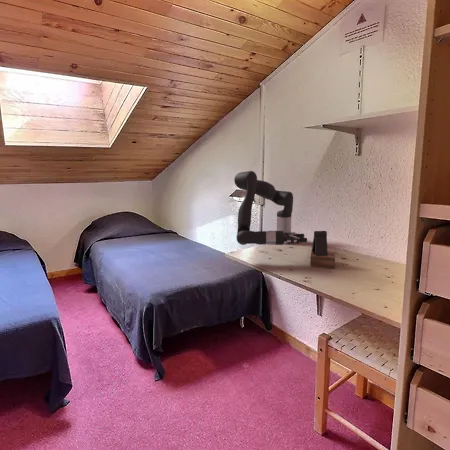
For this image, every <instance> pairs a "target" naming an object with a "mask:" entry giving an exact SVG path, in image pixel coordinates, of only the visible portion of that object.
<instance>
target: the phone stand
mask: <svg viewBox="0 0 450 450" xmlns="http://www.w3.org/2000/svg"><path fill="white" fill-rule="evenodd" d="M327 236H328V231H326V230H315V231H313V240H312V245H311V251H312V252H313V253H314V254H315V255H316V256H328V252H327V251H328V238H327Z"/></svg>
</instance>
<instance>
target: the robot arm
mask: <svg viewBox="0 0 450 450" xmlns="http://www.w3.org/2000/svg"><path fill="white" fill-rule="evenodd" d="M233 181H234V185H235V186H236V187H237V188H238V189H240V190H243V191H246V194H245V196H244V199H243V201H242V202H241V204H240V206H239V207H238V208H239V209H238V212H237V213H238V214H237V232H236V242H237V243H238V244H239V245H242V246H245V245H247V244H249V245H269V246H283V245H288V244H293V245H294V244H295V245H299V243H307V242H308V238H307V237H305V234H304V233H298V232H292V214H293V208H294V207H293V205H294V193H293V192H291V191H286V190H278V189H277V190H276V188H275V186H274V185H273V184H272V183H270V182H268V181H266V180H261V179H260V180H259V179H258V176H257V173H256V172H255V171H253V170H248V171H241V172H238V173H236V175H235V176H234V179H233ZM255 195H256V196H259V197H261V198H263V199H266V200H268V201H270V202H272V203H274V204H275V205H277V206H283V209H282V210H278V211H276V230H266V231H265V230H259V231H255V230H251V224H252V211H253V204H254V199H255Z"/></svg>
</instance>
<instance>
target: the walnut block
mask: <svg viewBox="0 0 450 450" xmlns="http://www.w3.org/2000/svg"><path fill="white" fill-rule="evenodd" d="M310 252H311V253H310V256H309V257H310V260H309V262H310V263H309V267H310V268H319V269H333V270H335V262H336V252H335V251H334V250H332V251H331V250H327V252H328V256H316V255H315V254H314V253H313V252H312V250H311V251H310Z"/></svg>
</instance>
